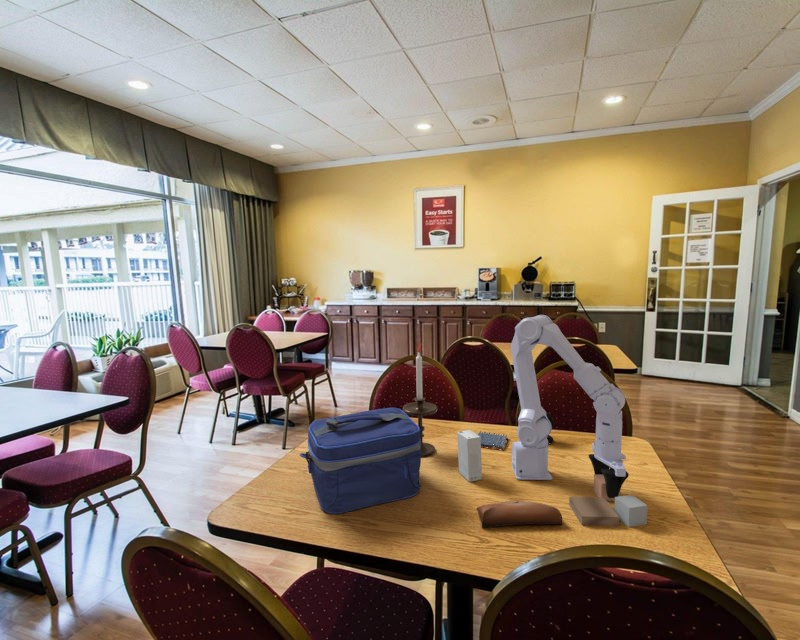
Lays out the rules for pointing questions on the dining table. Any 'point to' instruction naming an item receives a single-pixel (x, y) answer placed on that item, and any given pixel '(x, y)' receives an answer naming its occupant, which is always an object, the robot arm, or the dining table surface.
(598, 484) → the terracotta cube
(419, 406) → the candlestick
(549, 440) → the webcam
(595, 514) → the walnut slab
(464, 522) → the dining table surface
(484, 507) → the sunglasses case
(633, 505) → the grey cube
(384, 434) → the lunch bag
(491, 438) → the woven mat
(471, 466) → the skincare box
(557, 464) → the dining table surface
